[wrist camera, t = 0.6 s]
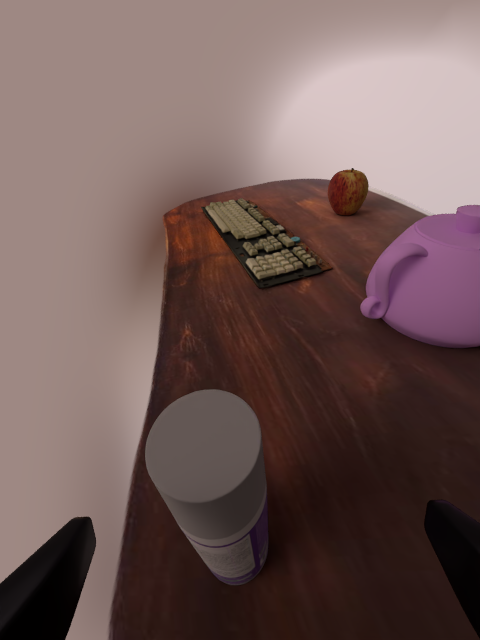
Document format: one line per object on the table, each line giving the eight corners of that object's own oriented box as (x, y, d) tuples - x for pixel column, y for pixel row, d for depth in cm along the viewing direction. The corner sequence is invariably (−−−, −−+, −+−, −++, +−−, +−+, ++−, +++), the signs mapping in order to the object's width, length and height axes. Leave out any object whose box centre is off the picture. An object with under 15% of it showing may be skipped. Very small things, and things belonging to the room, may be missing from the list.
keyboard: (201, 211, 79) (199, 201, 77) (250, 202, 82) (249, 193, 80) (257, 291, 45) (257, 278, 43) (337, 272, 48) (339, 259, 46)
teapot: (408, 382, 30) (464, 267, 21) (323, 294, 43) (336, 203, 34) (583, 326, 34) (690, 212, 25) (457, 263, 47) (498, 174, 39)
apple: (321, 208, 73) (325, 166, 67) (355, 205, 73) (363, 162, 67) (331, 221, 66) (337, 174, 60) (369, 217, 66) (380, 170, 60)
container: (236, 490, 23) (210, 369, 13) (282, 540, 20) (290, 433, 10) (190, 542, 20) (119, 440, 11) (235, 606, 18) (191, 546, 8)
